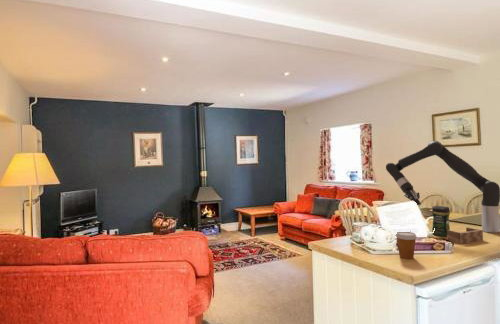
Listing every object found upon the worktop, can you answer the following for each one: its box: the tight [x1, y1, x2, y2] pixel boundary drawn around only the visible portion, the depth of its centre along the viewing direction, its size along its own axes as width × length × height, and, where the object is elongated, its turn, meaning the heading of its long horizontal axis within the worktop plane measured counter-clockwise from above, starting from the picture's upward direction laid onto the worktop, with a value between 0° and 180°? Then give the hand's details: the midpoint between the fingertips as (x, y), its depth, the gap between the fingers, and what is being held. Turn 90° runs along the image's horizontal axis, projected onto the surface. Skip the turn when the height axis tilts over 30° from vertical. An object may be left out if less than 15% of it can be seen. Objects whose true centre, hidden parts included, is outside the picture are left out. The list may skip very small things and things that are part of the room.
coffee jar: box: [431, 205, 451, 237], centre depth 206 cm, size 10×8×19 cm
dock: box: [446, 227, 484, 245], centre depth 192 cm, size 19×9×6 cm, turn 112°
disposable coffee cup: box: [395, 231, 418, 260], centre depth 162 cm, size 10×10×12 cm
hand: (419, 204), depth 220 cm, fingers closed
